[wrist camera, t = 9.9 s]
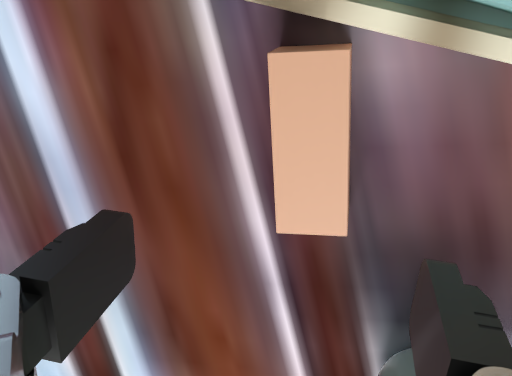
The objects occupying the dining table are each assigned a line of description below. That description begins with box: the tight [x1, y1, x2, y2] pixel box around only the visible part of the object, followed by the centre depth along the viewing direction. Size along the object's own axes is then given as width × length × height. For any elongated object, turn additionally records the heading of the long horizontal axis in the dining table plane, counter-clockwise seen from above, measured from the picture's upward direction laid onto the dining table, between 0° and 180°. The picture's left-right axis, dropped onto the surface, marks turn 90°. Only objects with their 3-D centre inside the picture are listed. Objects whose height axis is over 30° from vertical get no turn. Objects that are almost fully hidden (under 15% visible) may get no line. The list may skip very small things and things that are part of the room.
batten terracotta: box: [268, 43, 352, 236], centre depth 25 cm, size 10×4×4 cm, turn 4°
